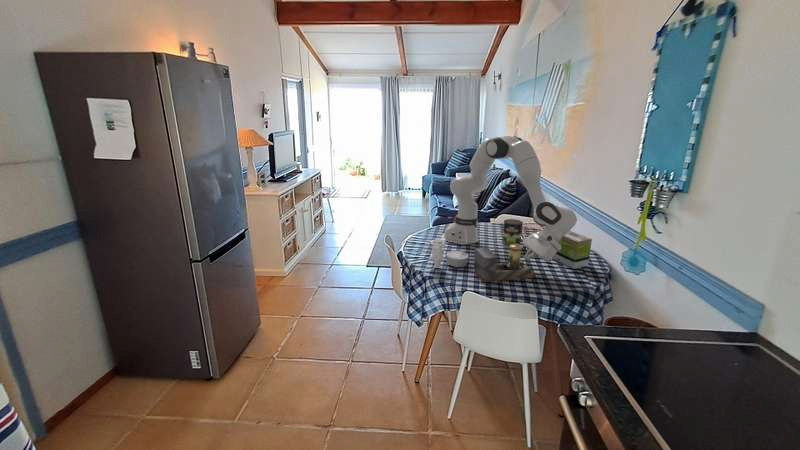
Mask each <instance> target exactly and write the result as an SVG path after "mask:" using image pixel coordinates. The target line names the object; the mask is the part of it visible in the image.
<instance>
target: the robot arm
mask: <svg viewBox="0 0 800 450" xmlns="http://www.w3.org/2000/svg"><path fill="white" fill-rule="evenodd" d="M500 159H503V160H504V159H512V163H513V164H514V167H515V170H516V172H517V174H518V176H519V178H520V180H521V182H522V184H523V185H524V187H525V188H526V190H527V193H528V196H529V199H530V201H531V205H532V208H533V209H532V219H533V221H534V223H535V224H536V225H538V226H539V227H543V229H541V231H539V232H538V231H537V232H533V233H531V234H530V235H528V236H527V237H526V238H525V239H523V241H522V246H524V247H525V248H527V249H528V250H526V253H525V254H524V255H523V258H524V259H525V260H527V261H529V262H530V261H531V260H532V259H534V258H536V257H539V258H540V259H541V260H543V262H548V261H550V260H551V259H552V257H553V256H554V255H555V254H556V253H557V251H559V250H561V246H560V244H559V242H558V241H560V239H561V238H562V236H564V235H565V234H567V233H568V232H569V231H572V229H573V228H574V227H575V226H576V224H577V222H578V218H577V216H576V213H574V211H573V210H572V209H570V208H569V207H561V206H559V205H556V204H554V203H552V202H549V201H546V199H545V196H544V193H543V191H542V187H541V177H542V176H541V175H542V169H541V163H540V160H539V158H538V155H537V153H536V151H535V149H534V147H533V146H532V145H531V143H530V141H528V140H526V139H525V140H524V139H522V138H521V137H518V136H511V135H509V136H507V135H506V136H499V137H498V136H496V137H488V138H485V139H484V140H483V141H482V142H481V144H480V145H479V146H478V148H477V150H476V151H475V152H474V155H473V156H472V159H471V160H470V163H469V169H470V173H469V174H467V175H461V176H458V177H455V178H453V179H452V180H451V181H450V184H449V189H450V192H451V193H452V195H454V196H455V198H456V201H457V205H458V211H457V214H456V215H455V216H454V221H453V222H452V223H451V224H450V225H448V226H447V227H446V228H445V230H444V233H443V234H441V236H440V239H445V242H447V241H448V242H447V243H452V242H453V244H457V243H458V244H457V245H462V246H464V245H468V244H475V243H477V242H479V235H478V225H479V219H478V210H479V209H478V207H479V206H478V203H477V202H476V201H475V200H474V199H473V194H477V193H480V192H483V191H484V190H485V189H487V188H488V186H489V184H488V183H489V181H488V178H487V176H488V172H489V171H490V169H491V168H492V166H493V164H494V162H495V161H496V160H500Z"/></svg>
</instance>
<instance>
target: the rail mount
mask: <svg viewBox="0 0 800 450" xmlns="http://www.w3.org/2000/svg"><path fill="white" fill-rule="evenodd" d="M505 264H509V262H506V263H505V262H504V263H498V257H497V255H495V253H494V252H492V250H491V249H489V248H488V247H479V248H474V264H473V266H474V267H473V268H474V273H475V275H476V276H477V278H479V280H480V281H481V282H482V283H485V282H495V281H496V282H497V281H498V282H499V281H506V280H507V281H510V280H521V279H523V280H524V279H534V278H535V279H536V277H537V274H536V272H534V271H533V269H532V268H530V267H528V265H526V264H525V263H524V261H520V266H521V267H522V268H523V269H520V270H507V269H506V268H505Z"/></svg>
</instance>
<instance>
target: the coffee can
mask: <svg viewBox="0 0 800 450" xmlns="http://www.w3.org/2000/svg"><path fill="white" fill-rule="evenodd" d="M523 223H524V222H523V221H522V220H520V219H516V218H509V219H505V220H503V229H502V230H503V231H502V241H501V245H502V247H505V248H508V249H509V244H520V245H521V241H522V233H523V232H522V231H523V225H524V224H523Z"/></svg>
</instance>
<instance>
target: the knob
mask: <svg viewBox="0 0 800 450" xmlns="http://www.w3.org/2000/svg"><path fill="white" fill-rule="evenodd" d="M523 246H524V245H523V244H521V243H520V244H509V248H508V249H509V254H508V255H509V256H508V263H509V264H505V268H506V269H507V270H520V269H523V268H522V267H521V266H520V262H521V254H522V250H523Z"/></svg>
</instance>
